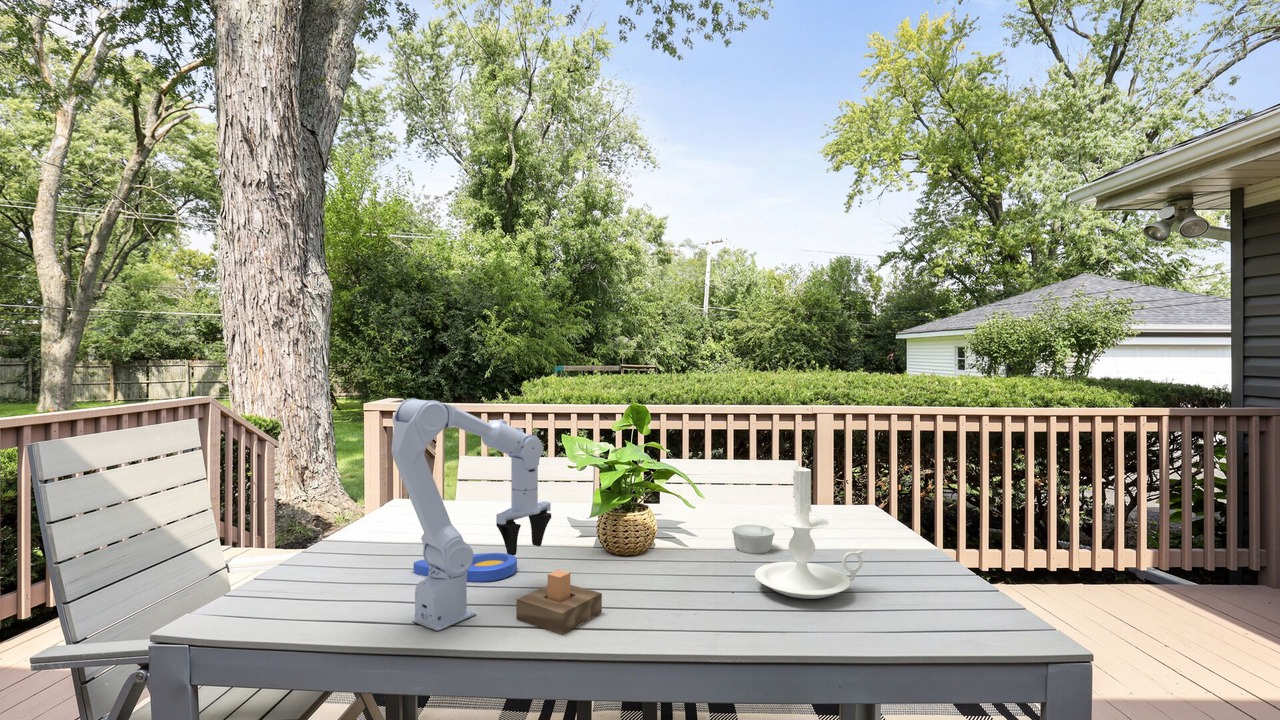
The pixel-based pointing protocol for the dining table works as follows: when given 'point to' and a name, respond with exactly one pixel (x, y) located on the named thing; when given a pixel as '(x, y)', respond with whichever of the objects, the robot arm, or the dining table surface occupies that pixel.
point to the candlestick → (805, 553)
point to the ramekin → (753, 538)
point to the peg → (559, 586)
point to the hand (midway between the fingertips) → (524, 549)
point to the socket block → (558, 609)
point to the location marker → (481, 567)
